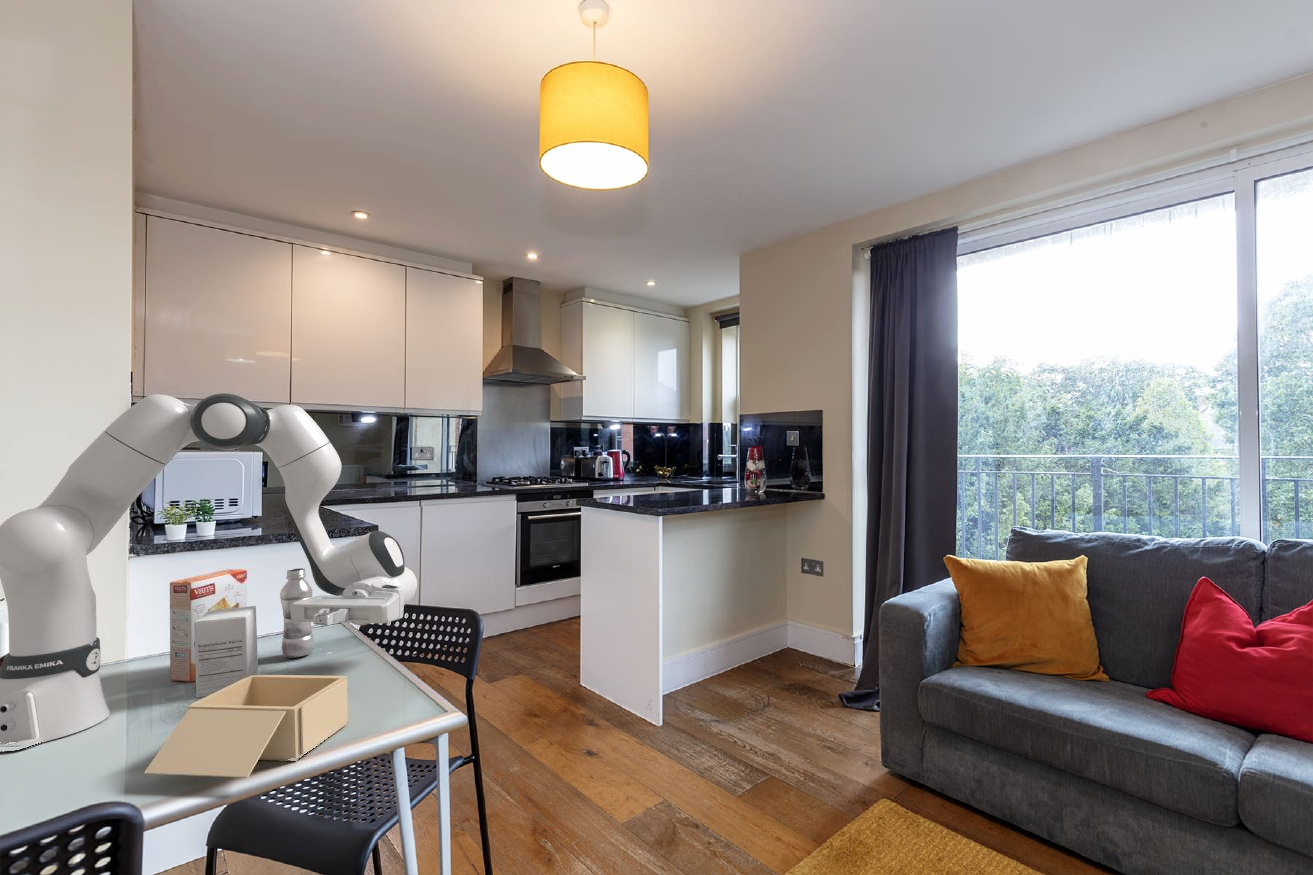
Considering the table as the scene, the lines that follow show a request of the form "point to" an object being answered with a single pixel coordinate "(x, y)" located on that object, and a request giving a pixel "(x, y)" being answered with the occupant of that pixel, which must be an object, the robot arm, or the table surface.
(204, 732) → the flap
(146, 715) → the table surface
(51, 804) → the table surface
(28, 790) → the table surface
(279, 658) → the table surface
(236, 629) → the supplement box
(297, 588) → the plastic bottle
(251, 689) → the carton
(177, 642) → the cracker box
